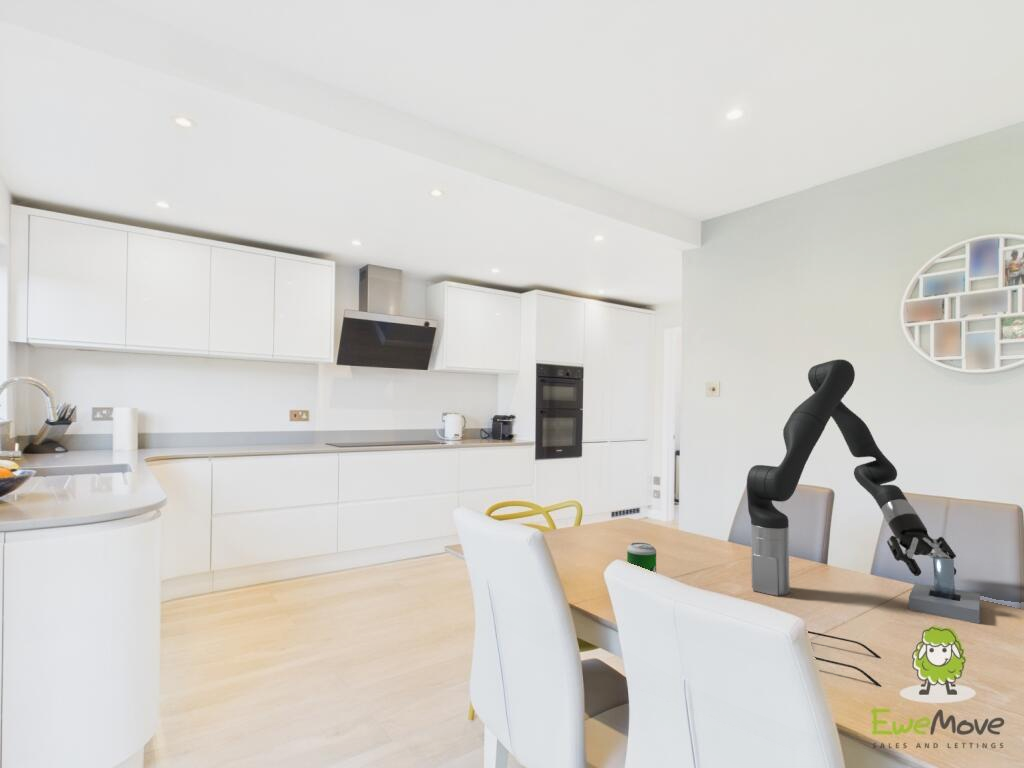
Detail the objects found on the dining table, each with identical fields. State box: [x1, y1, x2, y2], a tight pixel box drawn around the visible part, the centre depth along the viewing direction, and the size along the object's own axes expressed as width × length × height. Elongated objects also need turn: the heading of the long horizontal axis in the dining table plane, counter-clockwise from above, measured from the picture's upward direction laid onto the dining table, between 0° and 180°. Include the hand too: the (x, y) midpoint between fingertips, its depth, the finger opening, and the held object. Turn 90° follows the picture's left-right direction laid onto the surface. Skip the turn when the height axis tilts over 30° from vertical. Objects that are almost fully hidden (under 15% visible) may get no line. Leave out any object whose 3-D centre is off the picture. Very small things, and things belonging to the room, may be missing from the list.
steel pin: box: [932, 555, 955, 600], centre depth 133 cm, size 4×4×12 cm
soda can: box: [626, 541, 657, 573], centre depth 143 cm, size 8×8×12 cm
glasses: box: [807, 630, 882, 688], centre depth 104 cm, size 14×16×5 cm
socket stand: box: [908, 582, 981, 625], centre depth 133 cm, size 16×13×3 cm
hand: (935, 574), depth 136 cm, fingers open, 8 cm apart
